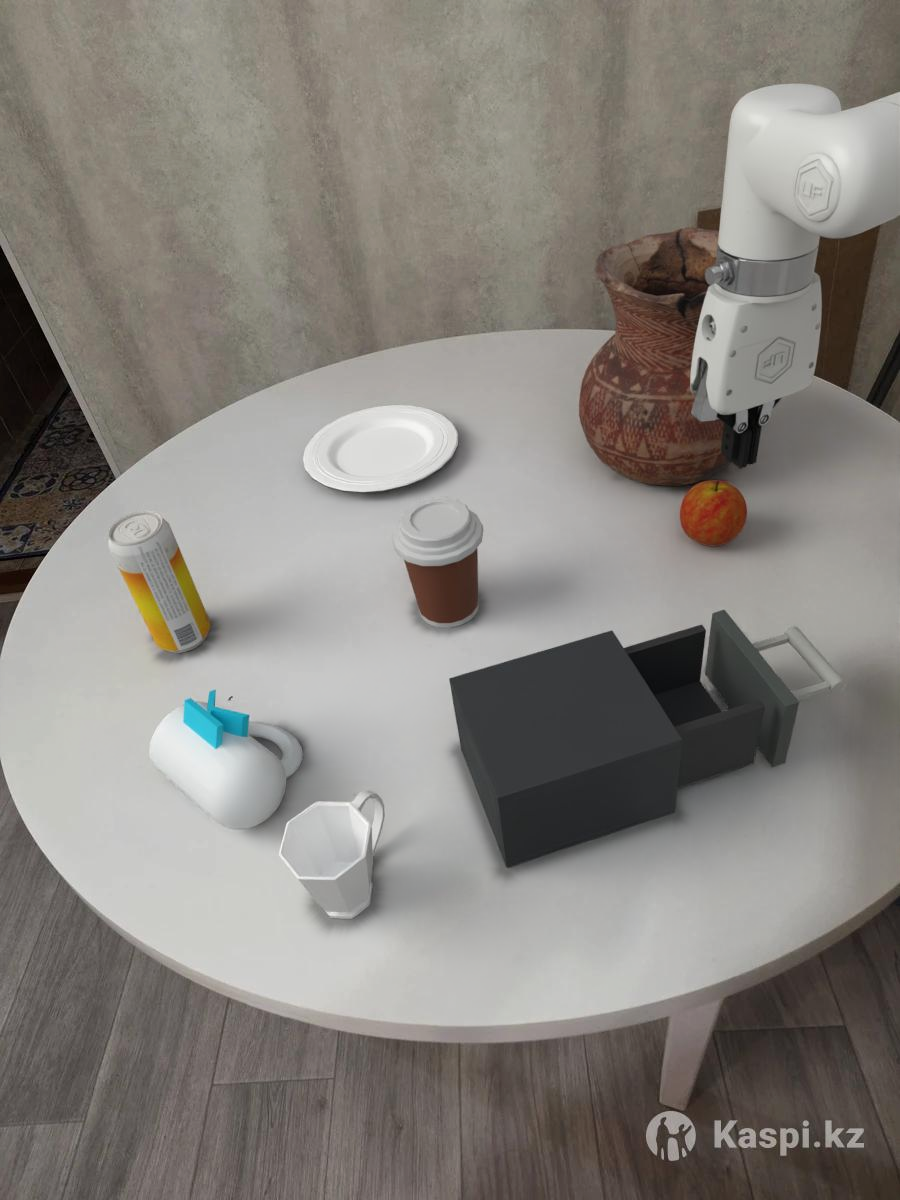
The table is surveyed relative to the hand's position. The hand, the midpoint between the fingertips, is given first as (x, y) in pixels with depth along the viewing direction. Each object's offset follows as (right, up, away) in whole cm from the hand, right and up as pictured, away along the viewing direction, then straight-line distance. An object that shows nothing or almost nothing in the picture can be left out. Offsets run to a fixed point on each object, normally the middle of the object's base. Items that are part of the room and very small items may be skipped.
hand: (738, 458), depth 81 cm
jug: (0, +5, +27) cm, 28 cm away
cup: (-35, -36, -11) cm, 51 cm away
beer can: (-56, -17, +13) cm, 60 cm away
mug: (-45, -30, -3) cm, 54 cm away
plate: (-36, +6, +35) cm, 50 cm away
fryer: (-17, -29, -7) cm, 34 cm away
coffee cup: (-27, -14, +11) cm, 33 cm away
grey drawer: (-4, -24, -6) cm, 25 cm away
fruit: (+2, -7, +15) cm, 16 cm away
